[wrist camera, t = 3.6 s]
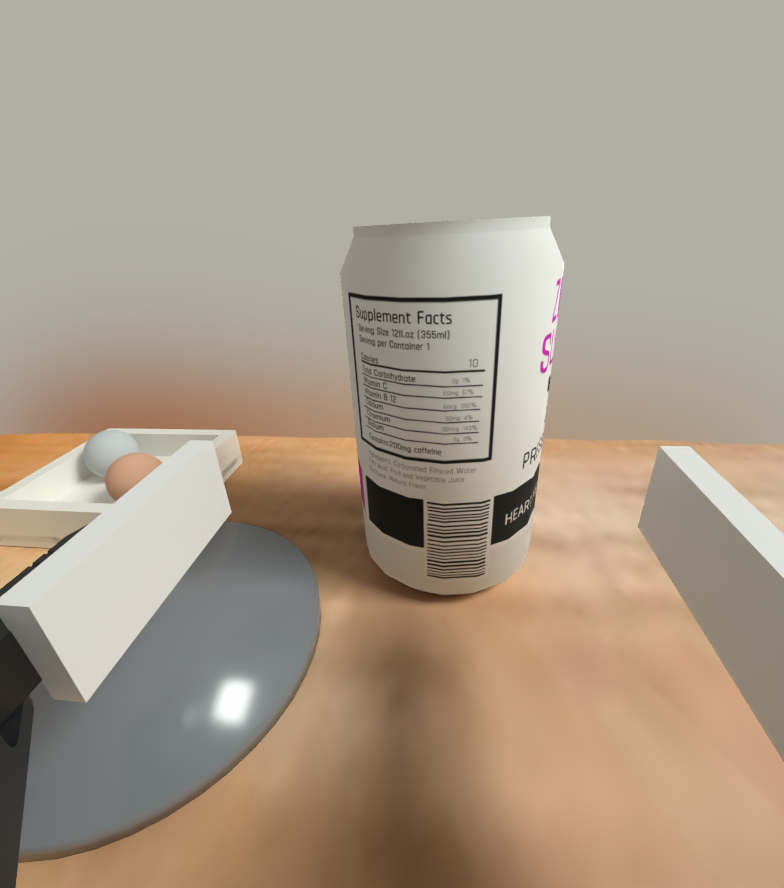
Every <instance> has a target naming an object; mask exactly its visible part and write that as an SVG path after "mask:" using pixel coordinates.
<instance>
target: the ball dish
mask: <svg viewBox="0 0 784 888" xmlns="http://www.w3.org/2000/svg"><path fill="white" fill-rule="evenodd" d="M107 430H118V431H122V432H125V433H127V434H129V435H131V436H132V437H133V438H134V439H135V440H136V441H137V443H138V445H139V447H140V451H141V453H146V454H150V455H152V456H154V457H156V458H158V459H159V460H160V461H161V462H162V463H163V462H164V461H166V460H167V459H168V458H169V457H170V456H172V455H173V454H174V453H175V452H176V451H178V450H179V449H180V448H181V447H182V446H184V445H185V444H186V443H187V442H188V441H190V440H208V441H213V444H214V448H215V452H216V455H217V459H218V463H219V467H220V470H221V474H222V478H223V482H224V483H225V482H226V480H227V479H228V478H229V477H230V476H231V475H232V474H233V473H234V472H235V470H236V469H237V468H238V467H239V466H240V465H241V464H242V463H243V461H242V456H241V452H240V448H239V444H238V439H237V435H236V431H235V430H183V429H182V430H181V429H112V428H110V429H107ZM105 431H106V430H105ZM86 443H87V442H85V443H83V444H82V445H80V446H78V447H77V448H75V449H73V450H71V451H70V452H68V453H66V454H65V455H63V456H61V457H60V458H58V459H56V460H54V461H53V462H51V463H49V464H48V465H46V466H44V467H43V468H41V469H39V470H37V471H36V472H34V473H32V474H31V475H29V476H27V477H26V478H24V479H22V480H20V481H19V482H17V483H15V484H14V485H12V486H10V487H9V488H7V489H5V490H3V491H2V492H0V545H4V546H21V547H38V548H52V547H53V546H55V545H56V544H57V543H58V542H59V541H61V540H62V539H63V538H64V537H66V536H67V535H69V534H71V533H73V532H75V531H76V530H78V529H80V528H82V527H84V526H86V525H87V524H89V523H91V522H92V521H93V520H94V519H95V518H97V517H98V516H99V515H100V514H101V513H103V512H104V511H105V510H106V509H107V508H109V507H110V506H111V505H112V504H114V503H115V502H116V501H115V500H114V499H113V498H112V497H111V496H110V495H109V493H108V491H107V489H106V486H105V478H104V477H101V476H98V475H96V474H94V473H93V472H92V471H90V470H89V469H88V467H87V466H86V464H85V462H84V459H83V450H84V447H85V444H86Z"/></svg>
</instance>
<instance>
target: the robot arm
mask: <svg viewBox="0 0 784 888" xmlns="http://www.w3.org/2000/svg"><path fill="white" fill-rule="evenodd" d="M230 514H231V508H230V504H229V501H228V497H227V493H226V489H225V486H224V482H223V478H222V474H221V470H220V467H219V463H218V459H217V455H216V452H215V448H214V444H213V441H208V440H190V441H188V442H187V443H186V444H185V445H184V446H182V447H181V448H180V449H179V450H178V451H176V452H175V453H174V454H173V455H172V456H170V457H169V458H168V459H167V460H166V461H164V462H163V463H162V464H161V465H159V466H158V467H157V468H156V469H155V470H153V471H152V472H151V473H150V474H149V475H147V476H146V477H145V478H144V479H143V480H141V481H140V482H139V483H138V484H136V485H135V486H134V487H133V488H132V489H130V490H129V491H128V492H127V493H126V494H124V495H123V496H122V497H121V498H120V499H118V500H117V501H116V502H115V503H114V504H112V505H111V506H110V507H109V508H107V509H106V510H105V511H104V512H103V513H101V514H100V515H99V516H98V517H97V518H95V519H94V520H93V521H92V522H91V523H89V524H87V525H86V526H84V527H82V528H80V529H78V530H76V531H75V532H73V533H71V534H69V535H67V536H66V537H64V538H63V539H62V540H61V541H59V542H58V543H57V544H56V545H55V546H53V547H52V548H51V549H50V550H48V553H47V554H43V555H42V556H41V557H40V558H38V559H37V560H36V561H35V562H34V563H33V565H32V567H27V568H26V569H25V570H24V571H22V572H21V573H20V574H19V575H18V576H16V577H15V578H14V579H13V580H11V581H10V582H9V583H8V584H6V585H5V586H4V587H3V588H1V589H0V888H15V887H16V877H17V868H18V858H19V849H20V839H21V830H22V820H23V810H24V801H25V791H26V782H27V772H28V763H29V753H30V744H31V734H32V725H33V715H34V705H33V701H32V699H31V698H30V696H29V694H30V693H31V692H32V691H33V690H34V689H35V688H36V687H37V685H38V684H39V683H40V682H41V681H42V683H43V684H44V686H45V687H46V689H47V690H48V692H49V693H50V695H51V696H52V698H53V699H55V700H64V701H74V702H84V703H87V701H88V700H89V699H90V697H91V696H92V695H93V693H94V692H95V691H96V689H97V688H98V687H99V685H100V684H101V683H102V682H103V680H104V679H105V678H106V676H107V675H108V674H109V672H110V671H111V670H112V668H113V667H114V666H115V664H116V663H117V662H118V661H119V659H120V658H121V657H122V655H123V654H124V653H125V651H126V650H127V649H128V647H129V646H130V645H131V643H132V642H133V641H134V640H135V638H136V637H137V636H138V634H139V633H140V632H141V630H142V629H143V628H144V626H145V625H146V624H147V623H148V621H149V620H150V619H151V617H152V616H153V615H154V613H155V612H156V611H157V609H158V608H159V607H160V605H161V604H162V603H163V602H164V600H165V599H166V598H167V596H168V595H169V594H170V592H171V591H172V590H173V588H174V587H175V586H176V584H177V583H178V582H179V581H180V579H181V578H182V577H183V575H184V574H185V573H186V571H187V570H188V569H189V567H190V566H191V565H192V563H193V562H194V561H195V560H196V558H197V557H198V556H199V554H200V553H201V552H202V550H203V549H204V548H205V546H206V545H207V544H208V542H209V541H210V540H211V539H212V537H213V536H214V535H215V533H216V532H217V531H218V529H219V528H220V527H221V525H222V524H223V523H224V521H225V520H226V519H227V518H228V516H229V515H230ZM638 527H639V529H640V531H641V532H642V534H643V535H644V537H645V539H646V540H647V542H648V543H649V545H650V547H651V548H652V550H653V552H654V553H655V555H656V556H657V558H658V560H659V561H660V563H661V564H662V566H663V568H664V569H665V571H666V573H667V574H668V576H669V577H670V579H671V581H672V582H673V584H674V585H675V587H676V589H677V590H678V592H679V593H680V595H681V597H682V598H683V600H684V602H685V603H686V605H687V606H688V608H689V610H690V611H691V613H692V614H693V616H694V618H695V619H696V621H697V623H698V624H699V626H700V627H701V629H702V631H703V632H704V634H705V635H706V637H707V639H708V640H709V642H710V643H711V645H712V647H713V648H714V650H715V652H716V653H717V655H718V656H719V658H720V660H721V661H722V663H723V664H724V666H725V668H726V669H727V671H728V673H729V674H730V676H731V677H732V679H733V681H734V682H735V684H736V685H737V687H738V689H739V690H740V692H741V694H742V695H743V697H744V698H745V700H746V702H747V703H748V705H749V706H750V708H751V710H752V711H753V713H754V714H755V716H756V718H757V719H758V721H759V723H760V724H761V726H762V727H763V729H764V731H765V732H766V734H767V735H768V737H769V739H770V740H771V742H772V744H773V745H774V747H775V748H776V750H777V752H778V753H779V755H780V756H781V758H782V760H783V761H784V534H783V533H782V532H781V531H780V530H779V529H778V528H777V527H775V526H774V525H773V524H772V523H771V522H770V521H769V520H768V519H767V518H766V517H765V516H764V515H763V514H761V513H760V512H759V511H758V510H757V509H756V508H755V507H754V506H753V505H752V504H751V503H750V502H749V501H748V500H746V499H745V498H744V497H743V496H742V495H741V494H740V493H739V492H738V491H737V490H736V489H735V488H734V487H732V486H731V485H730V484H729V483H728V482H727V481H726V480H725V479H724V478H723V477H722V476H721V475H720V474H718V473H717V472H716V471H715V470H714V469H713V468H712V467H711V466H710V465H709V464H708V463H707V462H706V461H705V460H703V459H702V458H701V457H700V456H699V455H698V454H697V453H696V452H695V451H694V450H693V449H692V448H691V447H689V446H659V449H658V453H657V457H656V461H655V464H654V468H653V472H652V476H651V479H650V483H649V487H648V491H647V495H646V498H645V502H644V506H643V510H642V514H641V517H640V521H639V525H638Z"/></svg>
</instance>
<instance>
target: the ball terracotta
mask: <svg viewBox="0 0 784 888" xmlns="http://www.w3.org/2000/svg"><path fill="white" fill-rule="evenodd" d="M161 464H162V462H161V461H160V460H159V459H158V458H156V457H154V456H152V455H150V454H146V453H140V452H138V453H129V454H126V455H123V456H121V457H120V458H118V459H117V460H115V461H114V462H113V463H112V464H111V465H110V467H109V468H108V470H107V473H106V476H105V486H106V489H107V491H108V493H109V495H110V496H111V497H112V498H113V499H114V500H115V501H117V500H118V499H120V498H121V497H122V496H123V495H124V494H126V493H127V492H128V491H129V490H130V489H132V488H133V487H134V486H135V485H136V484H138V483H139V482H140V481H141V480H143V479H144V478H145V477H146V476H147V475H149V474H150V473H151V472H152V471H153V470H155V469H156V468H157V467H158V466H159V465H161Z"/></svg>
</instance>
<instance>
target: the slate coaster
mask: <svg viewBox="0 0 784 888" xmlns="http://www.w3.org/2000/svg"><path fill="white" fill-rule="evenodd" d="M320 623H321V607H320V597H319V591H318V586H317V582H316V578H315V574H314V572H313V570H312V567H311V565H310V563H309V561H308V560H307V559H306V557H305V556H304V554H303V553H302V552H301V551H300V550H299V549H298V548H297V547H296V546H295V545H294V544H293V543H292V542H290V541H289V540H287V539H286V538H284V537H283V536H281V535H279V534H277V533H275V532H273V531H271V530H268V529H265V528H261V527H258V526H254V525H249V524H244V523H235V522H224V523H223V524H222V525H221V527H220V528H219V529H218V531H217V532H216V533H215V535H214V536H213V537H212V539H211V540H210V541H209V542H208V544H207V545H206V546H205V548H204V549H203V550H202V552H201V553H200V554H199V556H198V557H197V558H196V560H195V561H194V562H193V563H192V565H191V566H190V567H189V569H188V570H187V571H186V573H185V574H184V575H183V577H182V578H181V579H180V581H179V582H178V583H177V584H176V586H175V587H174V588H173V590H172V591H171V592H170V594H169V595H168V596H167V598H166V599H165V600H164V602H163V603H162V604H161V605H160V607H159V608H158V609H157V611H156V612H155V613H154V615H153V616H152V617H151V619H150V620H149V621H148V623H147V624H146V625H145V626H144V628H143V629H142V630H141V632H140V633H139V634H138V636H137V637H136V638H135V640H134V641H133V642H132V643H131V645H130V646H129V647H128V649H127V650H126V651H125V653H124V654H123V655H122V657H121V658H120V659H119V661H118V662H117V663H116V664H115V666H114V667H113V668H112V670H111V671H110V672H109V674H108V675H107V676H106V678H105V679H104V680H103V682H102V683H101V684H100V685H99V687H98V688H97V689H96V691H95V692H94V693H93V695H92V696H91V697H90V699H89V700H88V701H87V703H84V702H74V701H64V700H55V699H53V698H52V696H51V695H50V693H49V692H48V690H47V689H46V687H45V686H44V684H43V683H42V681H41V682H40V683H39V684H38V685H37V687H36V688H35V689H34V690H33V691H32V692H31V693H30V694H29V696H30V698H31V699H32V701H33V705H34V715H33V725H32V734H31V744H30V753H29V763H28V772H27V782H26V791H25V801H24V810H23V820H22V830H21V839H20V849H19V858H18V862H29V861H39V860H49V859H58V858H62V857H66V856H70V855H74V854H78V853H82V852H86V851H90V850H94V849H97V848H99V847H102V846H104V845H107V844H110V843H112V842H115V841H117V840H120V839H123V838H125V837H128V836H130V835H132V834H134V833H136V832H138V831H140V830H142V829H144V828H146V827H148V826H150V825H152V824H154V823H156V822H158V821H160V820H162V819H164V818H165V817H167V816H169V815H170V814H172V813H173V812H175V811H177V810H178V809H180V808H181V807H183V806H184V805H186V804H187V803H189V802H190V801H192V800H194V799H195V798H197V797H198V796H200V795H201V794H202V793H204V792H205V791H206V790H207V789H209V788H210V787H211V786H212V785H214V784H215V783H216V782H217V781H219V780H220V779H221V778H222V777H224V776H225V775H226V774H228V773H229V772H230V771H231V770H232V769H233V768H234V767H235V766H236V765H237V764H238V763H239V762H240V761H241V760H242V759H244V758H245V757H246V756H247V755H248V754H249V753H250V752H251V751H252V750H253V749H254V748H255V747H256V746H257V745H258V743H259V742H260V741H261V740H262V739H263V738H264V736H265V735H266V734H267V733H268V732H269V731H270V730H271V728H272V727H273V726H274V725H275V724H276V722H277V721H278V720H279V718H280V717H281V715H282V714H283V712H284V711H285V710H286V708H287V707H288V705H289V704H290V702H291V701H292V700H293V698H294V696H295V694H296V693H297V691H298V689H299V687H300V685H301V683H302V682H303V680H304V678H305V676H306V674H307V671H308V669H309V666H310V664H311V661H312V659H313V656H314V653H315V649H316V646H317V642H318V638H319V632H320Z"/></svg>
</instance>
